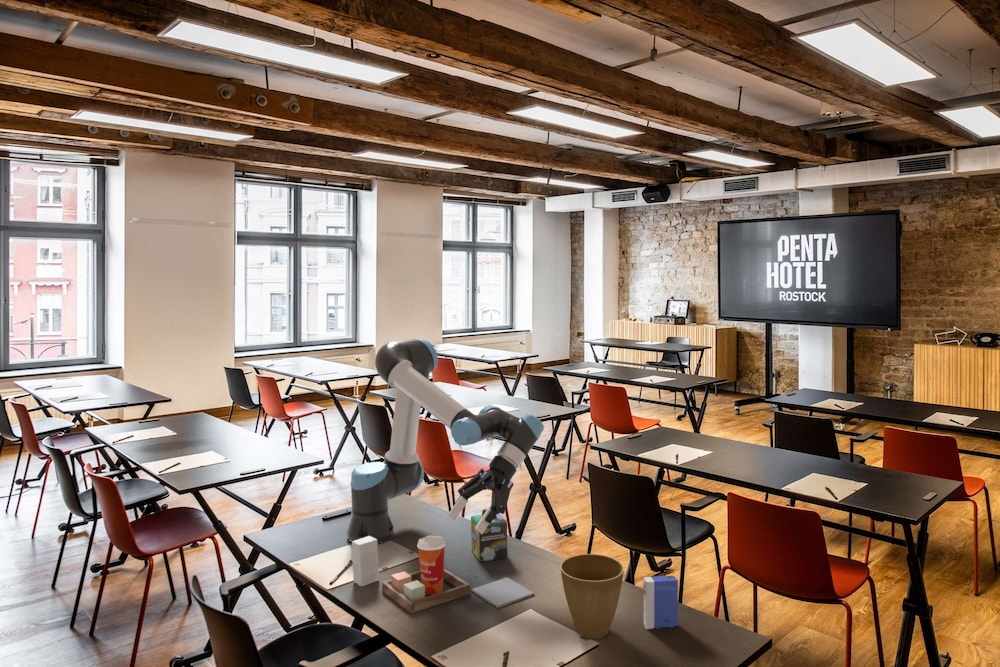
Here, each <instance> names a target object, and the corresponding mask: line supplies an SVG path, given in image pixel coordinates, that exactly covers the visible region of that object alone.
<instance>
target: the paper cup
mask: <svg viewBox="0 0 1000 667" xmlns="http://www.w3.org/2000/svg"><path fill="white" fill-rule="evenodd" d="M416 546H417V550H418V561H419V571H420V575H421V581H420V583H422V584H423V585H425V595H427V594H428V596H431V595H433V594H437V593H440V592H443V590H444V589H443V588H444V579H443V572H444V568H445V567H444V566H445V547H446V542H445V539H444V537H442V536H439V535H427V536H424V537H420V538H419V539H418V542H417V544H416Z"/></svg>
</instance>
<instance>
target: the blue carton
mask: <svg viewBox="0 0 1000 667" xmlns="http://www.w3.org/2000/svg"><path fill="white" fill-rule="evenodd" d="M642 587H643V591H642V593H643V625H644V628H645V629H646V630H651V629H652V630H653V628H656V629H662V628H661V627H670V628H675V627H674V626H678V624H679V623H678V622H679V621H678V620H679V617H678V615H679V614H678V613H679V612H678V610H679V608H678V607H679V604H678V601H679V600H678V599H679V580H678V579H677V578H676V576H675V575H671V574H665V576H664V575H662V576H661V575H660V576H647V577H643V586H642Z"/></svg>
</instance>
